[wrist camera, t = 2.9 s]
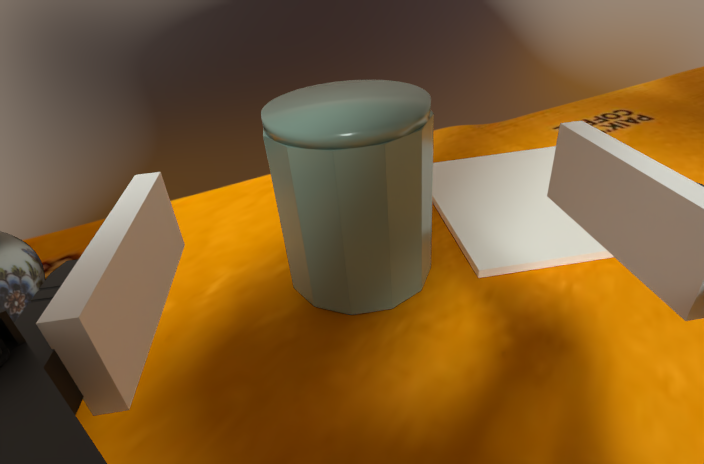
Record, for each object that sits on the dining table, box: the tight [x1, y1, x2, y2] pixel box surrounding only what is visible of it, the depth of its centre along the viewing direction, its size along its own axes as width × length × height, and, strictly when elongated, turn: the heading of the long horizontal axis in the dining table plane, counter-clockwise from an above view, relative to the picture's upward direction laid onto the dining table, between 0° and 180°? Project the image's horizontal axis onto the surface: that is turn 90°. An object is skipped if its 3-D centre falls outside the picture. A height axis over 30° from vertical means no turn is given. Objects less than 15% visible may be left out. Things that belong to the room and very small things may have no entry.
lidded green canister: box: [261, 80, 434, 315], centre depth 27 cm, size 9×9×11 cm
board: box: [432, 146, 614, 278], centre depth 35 cm, size 16×16×1 cm
